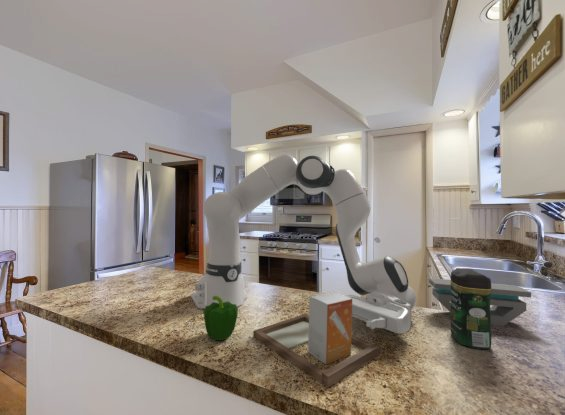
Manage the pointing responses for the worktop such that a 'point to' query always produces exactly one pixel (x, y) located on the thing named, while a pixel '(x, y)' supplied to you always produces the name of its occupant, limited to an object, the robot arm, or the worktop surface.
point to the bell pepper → (220, 319)
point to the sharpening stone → (501, 298)
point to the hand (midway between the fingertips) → (352, 318)
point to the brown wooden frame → (296, 333)
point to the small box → (330, 326)
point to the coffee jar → (471, 308)
